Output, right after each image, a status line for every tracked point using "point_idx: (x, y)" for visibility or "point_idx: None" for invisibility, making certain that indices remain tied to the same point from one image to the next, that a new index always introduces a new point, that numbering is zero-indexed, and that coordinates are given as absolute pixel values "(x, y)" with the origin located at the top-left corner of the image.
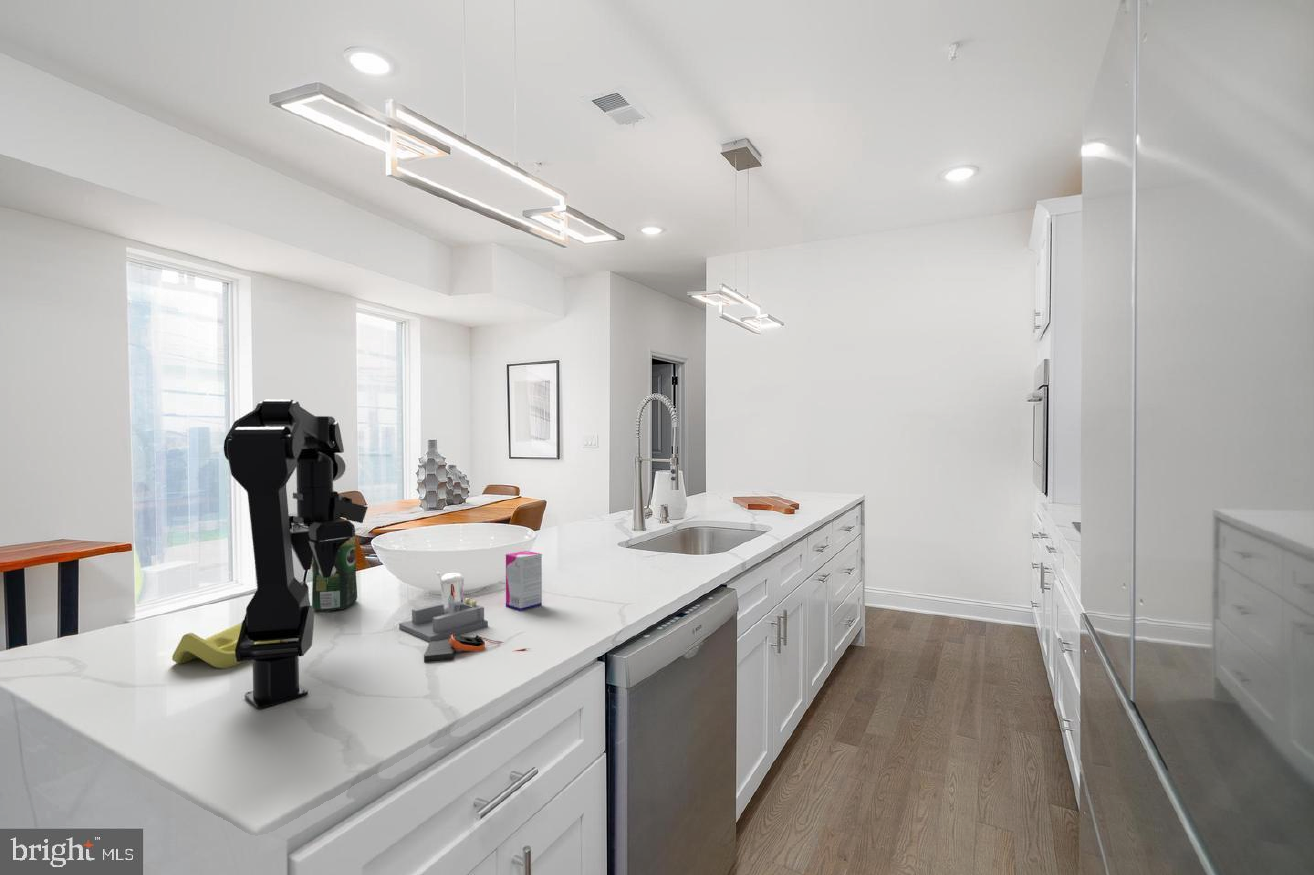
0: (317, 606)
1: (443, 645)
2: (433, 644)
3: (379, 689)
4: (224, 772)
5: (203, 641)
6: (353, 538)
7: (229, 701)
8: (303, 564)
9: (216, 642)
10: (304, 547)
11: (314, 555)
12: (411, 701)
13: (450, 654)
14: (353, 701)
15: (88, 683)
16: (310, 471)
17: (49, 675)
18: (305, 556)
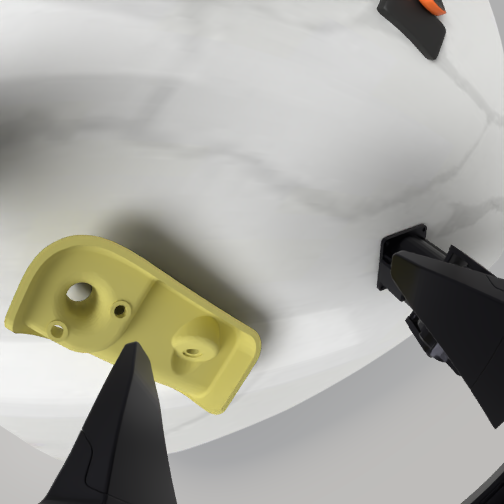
0: None
1: (414, 11)
2: (403, 16)
3: (458, 149)
4: None
5: (238, 387)
6: None
7: (372, 300)
8: (155, 388)
9: (182, 369)
10: (147, 478)
11: (461, 369)
12: (487, 137)
13: (445, 32)
14: (461, 183)
15: (198, 424)
16: None
17: None
18: (148, 422)
